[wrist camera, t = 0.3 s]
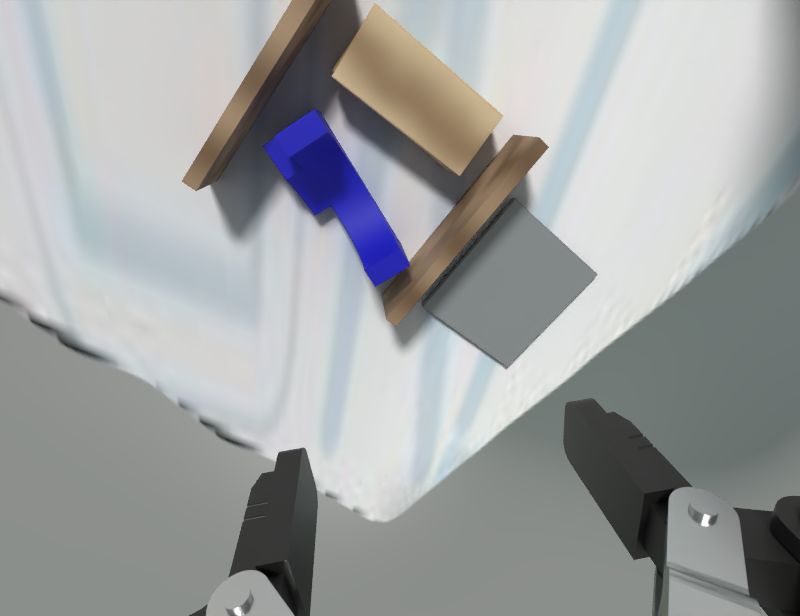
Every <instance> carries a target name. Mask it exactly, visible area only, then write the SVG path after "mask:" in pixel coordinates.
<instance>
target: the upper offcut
mask: <svg viewBox="0 0 800 616" xmlns="http://www.w3.org/2000/svg"><path fill="white" fill-rule="evenodd" d="M332 79H333V80H335V81H336V82H337V83H339V84H340V85H341V86H342V87H344V88H345V89H346V90H348V91H349V92H350V93H351V94H353V95H354V96H355V97H357V98H358V99H359V100H360V101H362V102H363V103H364V104H366V105H367V106H368V107H369V108H371V109H372V110H373V111H375V112H376V113H377V114H378V115H380V116H381V117H382V118H384V119H385V120H386V121H387V122H389V123H390V124H391V125H392V126H394V127H395V128H396V129H398V130H399V131H400V132H401V133H403V134H404V135H405V136H407V137H408V138H409V139H410V140H412V141H413V142H414V143H416V144H417V145H418V146H419V147H421V148H422V149H423V150H425V151H426V152H427V153H428V154H430V155H431V156H432V157H434V158H435V159H436V160H437V161H439V162H440V163H441V164H443V165H444V166H445V167H446V168H448V169H449V170H450V171H452V172H453V173H454V174H456V175H458V176H460V175H461V174H462V172H463V171H464V169H465V168H466V167H467V165H468V164H469V163H470V161H471V160H472V158H473V157H474V156H475V154H476V153H477V151H478V150H479V149H480V147H481V146H482V145H483V143H484V142H485V140H486V139H487V138H488V136H489V135H490V134H491V132H492V131H493V129H494V128H495V127H496V125H497V124H498V122H499V121H500V120H501V118H502V117H503V115H502V114H501V113H500V112H498V111H497V110H496V109H495V108H494V107H493V106H492V105H491V104H489V103H488V102H487V101H486V100H485V99H484V98H483V97H481V96H480V95H479V94H478V93H477V92H476V91H475V90H473V89H472V88H471V87H470V86H469V85H468V84H467V83H465V82H464V81H463V80H462V79H461V78H460V77H459V76H458V75H456V74H455V73H454V72H453V71H452V70H451V69H450V68H448V67H447V66H446V65H445V64H444V63H443V62H442V61H440V60H439V59H438V58H437V57H436V56H435V55H434V54H432V53H431V52H430V51H429V50H428V49H427V48H426V47H424V46H423V45H422V44H421V43H420V42H419V41H418V40H417V39H415V38H414V37H413V36H412V35H411V34H410V33H409V32H407V31H406V30H405V29H404V28H403V27H402V26H401V25H399V24H398V23H397V22H396V21H395V20H394V19H393V18H391V17H390V16H389V15H388V14H387V13H386V12H385V11H384V10H382V9H381V8H380V7H379V6H378V5H377V4H376V3H374V5H373V7H372V8H371V10H370V12H369V13H368V15H367V17H366V19H365V20H364V22H363V24H362V25H361V27H360V29H359V31H358V32H357V34H356V36H355V37H354V39H353V41H352V42H351V44H350V46H349V48H348V49H347V51H346V53H345V54H344V56H343V58H342V59H341V61H340V63H339V65H338V66H337V68H336V70H335V71H334V73H333V75H332Z"/></svg>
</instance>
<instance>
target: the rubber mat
mask: <svg viewBox="0 0 800 616" xmlns="http://www.w3.org/2000/svg"><path fill="white" fill-rule="evenodd" d="M597 275H598V274H597V273H596V272H594V271H593V270H592V269H591V268H590V267H589V266H588V265H587V264H586V263H585V262H584V261H582V260H581V259H580V258H579V257H578V256H577V255H576V254H575V253H574V252H573V251H571V250H570V249H569V248H568V247H567V246H566V245H565V244H564V243H563V242H562V241H561V240H559V239H558V238H557V237H556V236H555V235H554V234H553V233H552V232H551V231H550V230H549V229H547V228H546V227H545V226H544V225H543V224H542V223H541V222H540V221H539V220H538V219H536V218H535V217H534V216H533V215H532V214H531V213H530V212H529V211H528V210H527V209H526V208H524V207H523V206H522V205H521V204H520V203H519V202H518V201H517V200H516V199H514V198H513V199H512V200H511V201H510V202H509V203H508V205H507V206H506V207H505V208H504V209H503V210H502V212H501V213H500V214H499V215H498V216H497V217H496V219H495V220H494V221H493V222H492V223H491V224H490V226H489V227H488V228H487V229H486V230H485V231H484V233H483V234H482V235H481V236H480V237H479V238H478V240H477V241H476V242H475V243H474V244H473V245H472V247H471V248H470V249H469V250H468V251H467V252H466V254H465V255H464V256H463V257H462V258H461V259H460V261H459V262H458V263H457V264H456V265H455V266H454V268H453V269H452V270H451V271H450V272H449V273H448V275H447V276H446V277H445V278H444V279H443V280H442V282H441V283H440V284H439V285H438V286H437V287H436V289H435V290H434V291H433V292H432V293H431V294H430V296H429V297H428V298H427V299H426V300H425V301H424V303H423V304H422V306H423V307H424V308H425V309H427V310H428V311H429V312H431V313H432V314H434V315H435V316H436V317H438V318H439V319H441V320H442V321H443V322H445V323H446V324H448V325H449V326H450V327H452V328H453V329H455V330H456V331H457V332H459V333H460V334H462V335H463V336H464V337H466V338H467V339H469V340H470V341H471V342H473V343H474V344H476V345H477V346H478V347H480V348H481V349H483V350H484V351H485V352H487V353H488V354H490V355H491V356H492V357H494V358H495V359H497V360H498V361H499V362H501V363H502V364H504V365H505V366H506V367H508V366H509V365H510V364H511V363H512V362H513V361H514V360H515V359H516V358H517V357H518V356H519V355H520V354H521V353H522V352H523V351H524V350H525V349H526V348H527V347H528V346H529V345H530V344H531V343H532V342H533V341H534V339H535V338H536V337H537V336H538V335H539V334H540V333H541V332H542V331H543V330H544V329H545V328H546V327H547V326H548V325H549V324H550V323H551V322H552V321H553V320H554V319H555V318H556V317H557V316H558V315H559V314H560V313H561V312H562V311H563V310H564V309H565V308H566V307H567V306H568V304H569V303H570V302H571V301H572V300H573V299H574V298H575V297H576V296H577V295H578V294H579V293H580V292H581V291H582V290H583V289H584V288H585V287H586V286H587V285H588V284H589V283H590V282H591V281H592V280H593V279H594V278H595V277H596V276H597Z"/></svg>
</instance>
